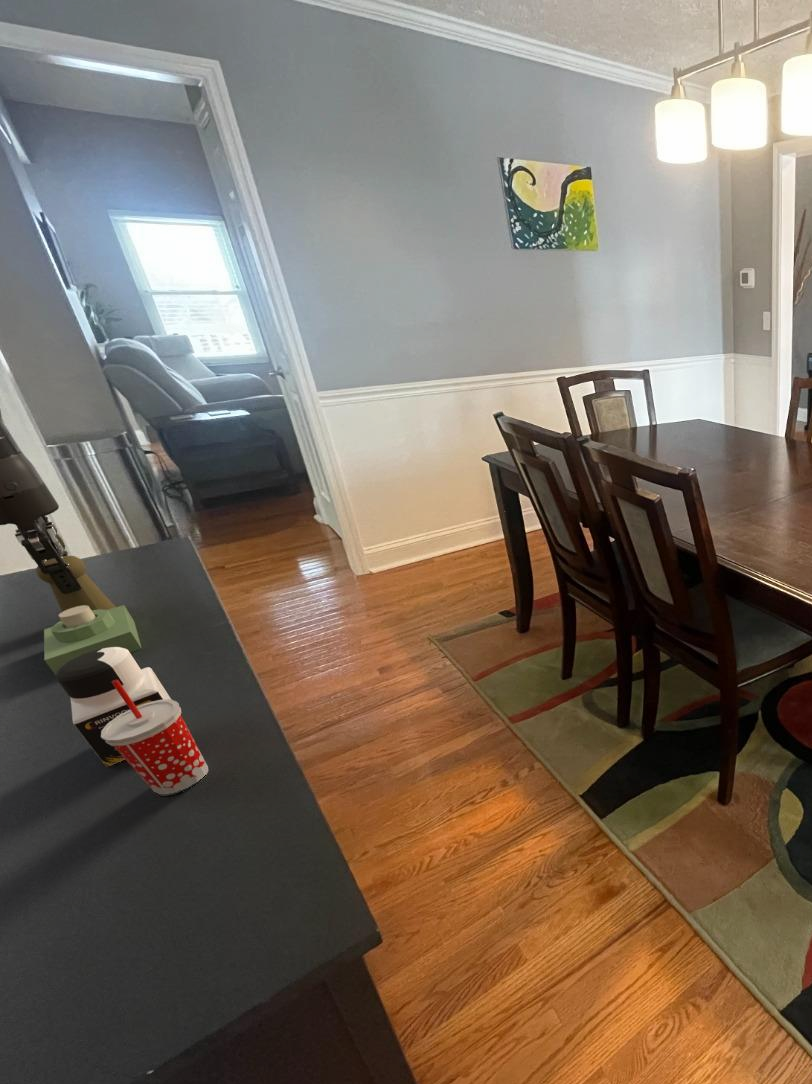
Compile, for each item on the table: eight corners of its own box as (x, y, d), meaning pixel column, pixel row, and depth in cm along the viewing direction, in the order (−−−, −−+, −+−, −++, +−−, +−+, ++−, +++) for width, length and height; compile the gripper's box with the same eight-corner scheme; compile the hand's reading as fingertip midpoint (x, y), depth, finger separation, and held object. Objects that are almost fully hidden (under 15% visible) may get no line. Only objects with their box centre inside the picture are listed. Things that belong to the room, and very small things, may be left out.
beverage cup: (229, 755, 69) (169, 658, 63) (195, 797, 64) (126, 696, 57) (170, 763, 69) (103, 666, 62) (131, 806, 63) (53, 705, 57)
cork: (64, 621, 98) (23, 562, 93) (113, 604, 102) (77, 547, 97) (72, 632, 95) (31, 572, 90) (123, 614, 99) (85, 556, 94)
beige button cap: (96, 621, 89) (89, 610, 88) (66, 631, 87) (58, 619, 86) (95, 614, 91) (88, 602, 90) (66, 623, 89) (58, 611, 88)
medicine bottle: (107, 769, 68) (44, 687, 63) (102, 740, 73) (43, 661, 67) (186, 734, 73) (134, 655, 67) (178, 709, 77) (128, 632, 71)
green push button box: (141, 648, 90) (124, 621, 88) (57, 678, 84) (36, 649, 82) (134, 621, 97) (117, 595, 95) (56, 646, 92) (36, 619, 89)
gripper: (-29, 484, 90) (38, 580, 98) (-37, 506, 81) (38, 610, 89) (42, 470, 95) (101, 563, 103) (42, 490, 86) (106, 590, 94)
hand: (71, 584), depth 96 cm, fingers open, 5 cm apart
